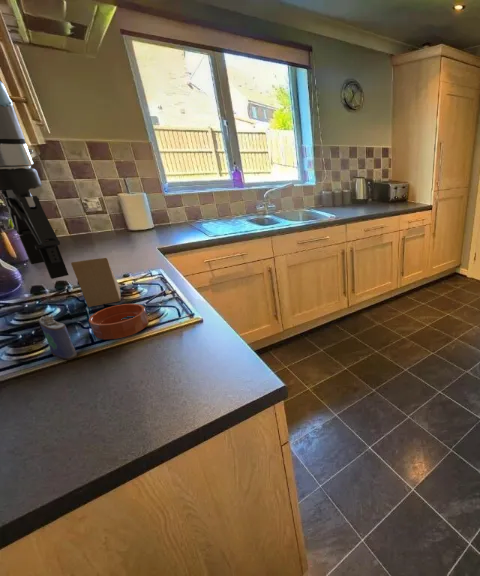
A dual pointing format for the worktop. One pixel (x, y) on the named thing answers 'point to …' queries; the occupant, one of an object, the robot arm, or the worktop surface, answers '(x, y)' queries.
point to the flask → (57, 338)
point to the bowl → (118, 321)
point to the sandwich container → (97, 281)
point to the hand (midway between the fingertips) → (49, 269)
